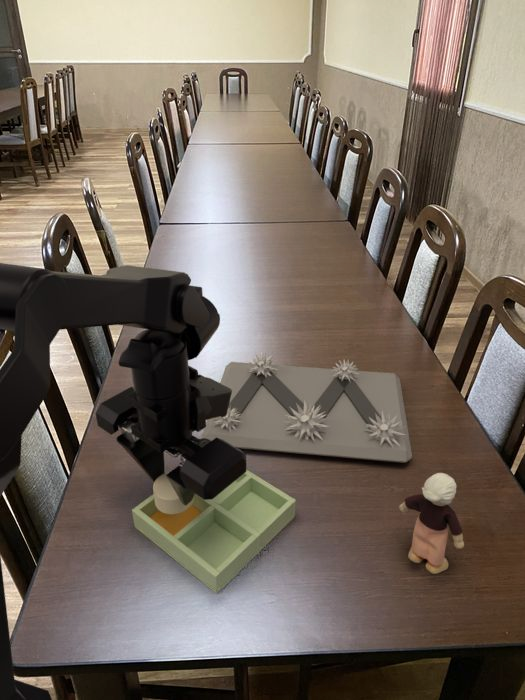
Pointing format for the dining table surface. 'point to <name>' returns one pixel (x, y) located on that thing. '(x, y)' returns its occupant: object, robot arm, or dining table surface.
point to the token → (167, 497)
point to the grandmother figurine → (434, 522)
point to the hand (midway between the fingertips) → (173, 492)
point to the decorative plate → (313, 411)
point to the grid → (219, 528)
